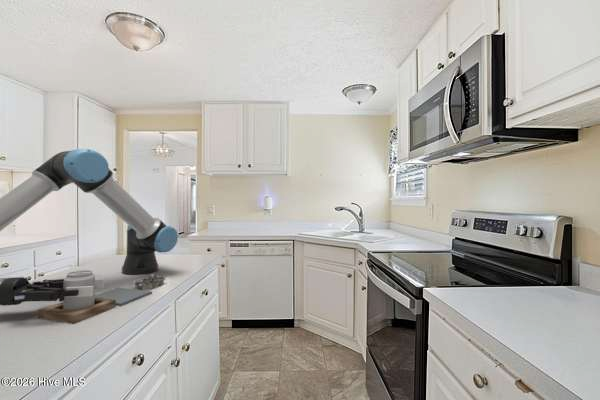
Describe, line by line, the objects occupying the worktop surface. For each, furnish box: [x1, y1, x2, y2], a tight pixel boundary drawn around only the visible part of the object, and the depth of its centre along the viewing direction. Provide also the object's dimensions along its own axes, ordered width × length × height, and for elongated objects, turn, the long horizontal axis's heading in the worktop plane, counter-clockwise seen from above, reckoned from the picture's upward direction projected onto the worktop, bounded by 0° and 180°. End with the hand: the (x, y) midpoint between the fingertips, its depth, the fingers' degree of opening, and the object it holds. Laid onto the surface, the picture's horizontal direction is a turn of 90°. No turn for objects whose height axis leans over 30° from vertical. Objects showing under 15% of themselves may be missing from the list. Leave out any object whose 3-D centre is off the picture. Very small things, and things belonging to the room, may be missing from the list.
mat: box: [95, 287, 153, 307], centre depth 98 cm, size 13×15×1 cm
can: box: [62, 269, 96, 312], centre depth 85 cm, size 8×8×12 cm
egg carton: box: [132, 273, 167, 291], centre depth 111 cm, size 11×8×4 cm
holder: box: [37, 297, 117, 325], centre depth 85 cm, size 13×13×2 cm
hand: (98, 286), depth 86 cm, fingers closed on can, 7 cm apart
